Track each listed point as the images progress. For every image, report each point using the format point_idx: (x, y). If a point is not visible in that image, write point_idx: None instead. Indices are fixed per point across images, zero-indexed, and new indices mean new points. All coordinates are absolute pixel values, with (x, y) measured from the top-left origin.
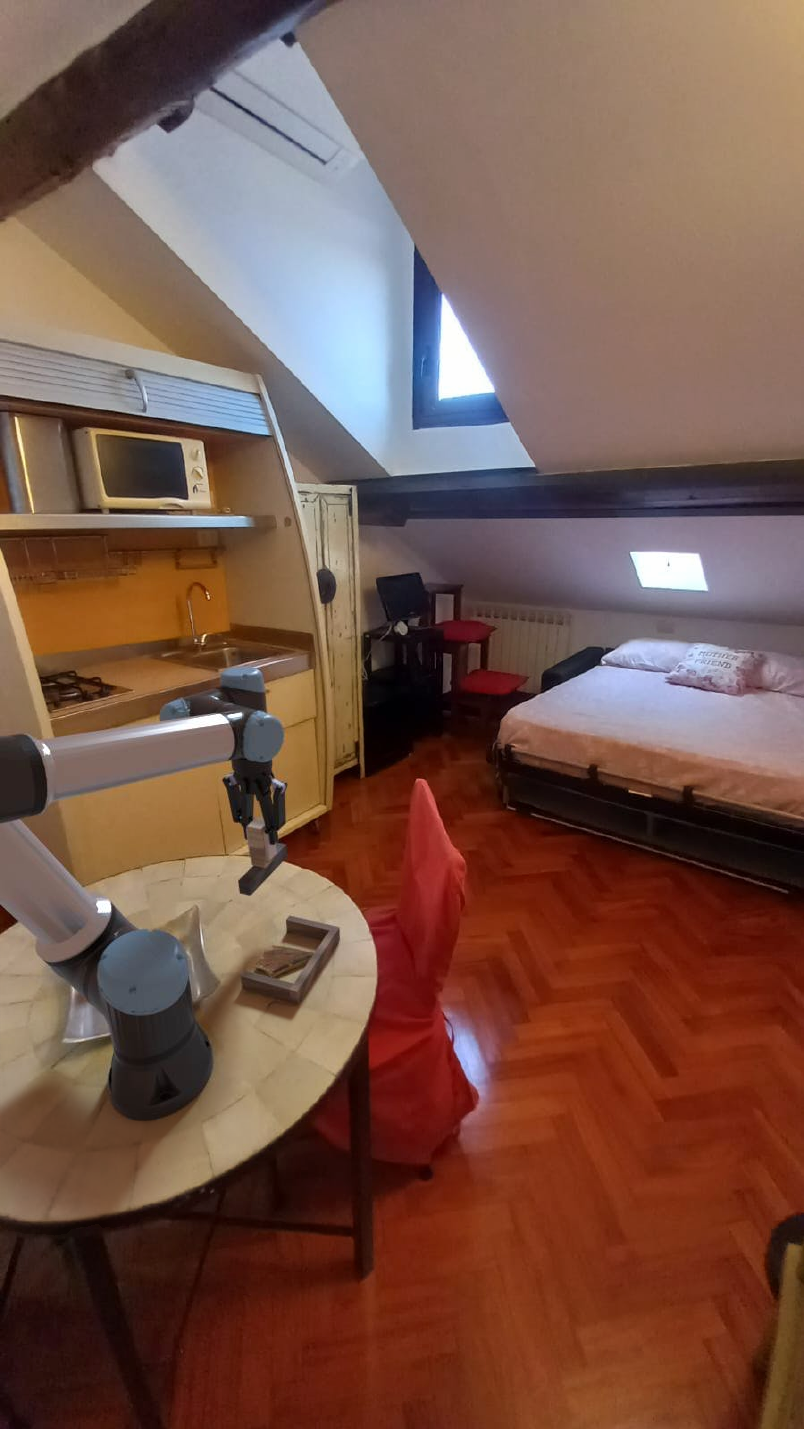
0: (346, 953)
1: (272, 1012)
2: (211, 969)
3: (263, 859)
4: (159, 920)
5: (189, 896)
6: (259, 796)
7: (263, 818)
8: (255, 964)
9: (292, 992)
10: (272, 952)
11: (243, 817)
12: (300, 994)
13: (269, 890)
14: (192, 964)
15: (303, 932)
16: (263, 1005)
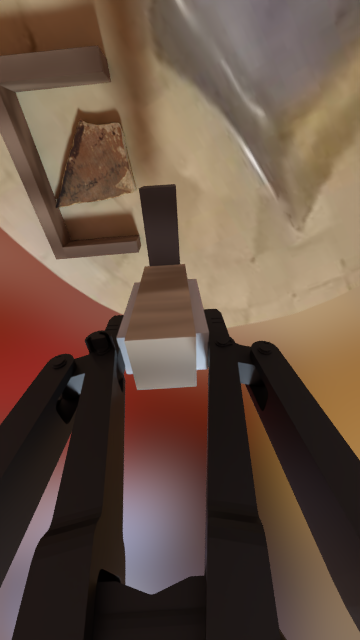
0: (35, 230)
1: (10, 19)
2: (193, 86)
3: (145, 276)
4: (348, 170)
5: (319, 243)
6: (36, 612)
7: (110, 389)
8: (119, 127)
9: None
10: (115, 172)
11: (226, 369)
12: None
13: (212, 296)
14: (235, 81)
15: (110, 239)
16: (40, 32)
